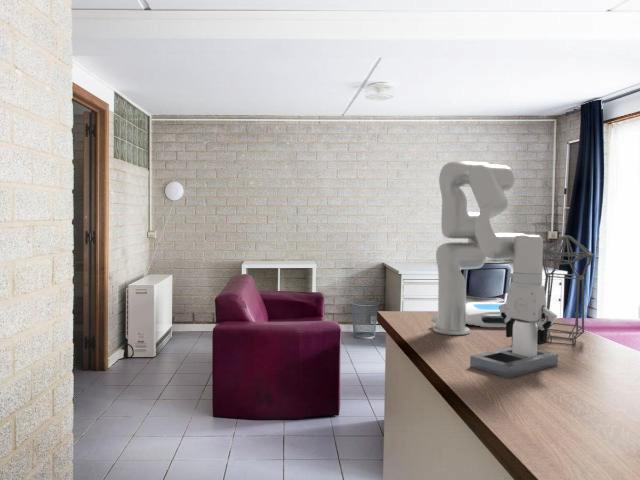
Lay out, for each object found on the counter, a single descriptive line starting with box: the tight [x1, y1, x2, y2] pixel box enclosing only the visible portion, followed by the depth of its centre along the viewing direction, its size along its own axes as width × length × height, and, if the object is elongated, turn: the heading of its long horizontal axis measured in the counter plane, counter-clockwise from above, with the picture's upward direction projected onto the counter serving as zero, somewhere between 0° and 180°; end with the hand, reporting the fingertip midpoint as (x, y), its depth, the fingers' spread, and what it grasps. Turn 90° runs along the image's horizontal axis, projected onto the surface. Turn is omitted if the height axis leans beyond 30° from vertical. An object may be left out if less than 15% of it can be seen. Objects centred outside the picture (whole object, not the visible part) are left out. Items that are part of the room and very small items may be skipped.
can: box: [511, 319, 539, 357], centre depth 143 cm, size 6×6×12 cm
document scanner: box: [466, 301, 538, 328], centre depth 198 cm, size 21×28×6 cm
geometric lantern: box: [542, 235, 596, 346], centre depth 167 cm, size 16×16×35 cm
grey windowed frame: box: [469, 346, 559, 379], centre depth 140 cm, size 12×22×3 cm, turn 124°
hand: (525, 340), depth 142 cm, fingers open, 9 cm apart
